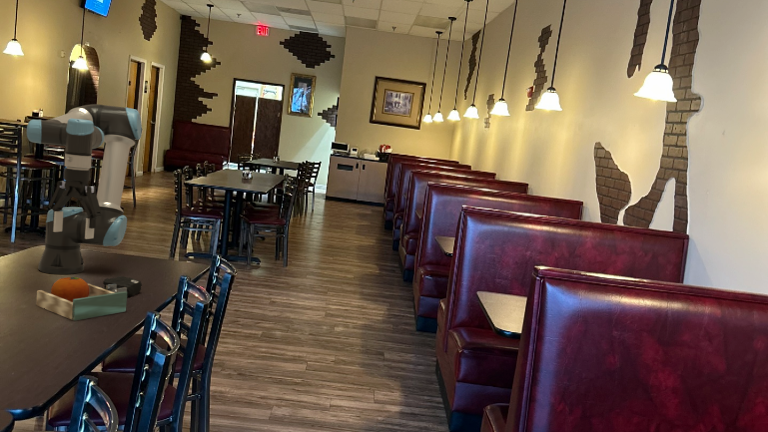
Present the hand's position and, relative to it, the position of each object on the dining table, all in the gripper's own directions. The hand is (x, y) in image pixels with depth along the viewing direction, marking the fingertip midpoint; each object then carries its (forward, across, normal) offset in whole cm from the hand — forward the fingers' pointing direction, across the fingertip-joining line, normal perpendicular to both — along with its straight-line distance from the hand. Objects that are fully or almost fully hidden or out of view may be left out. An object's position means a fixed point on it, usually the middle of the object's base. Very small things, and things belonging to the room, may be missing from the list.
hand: (73, 235), depth 206 cm
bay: (+20, +13, -7) cm, 25 cm away
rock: (+20, +9, +13) cm, 26 cm away
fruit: (+20, +7, -6) cm, 22 cm away
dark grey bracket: (+20, +16, +4) cm, 26 cm away
